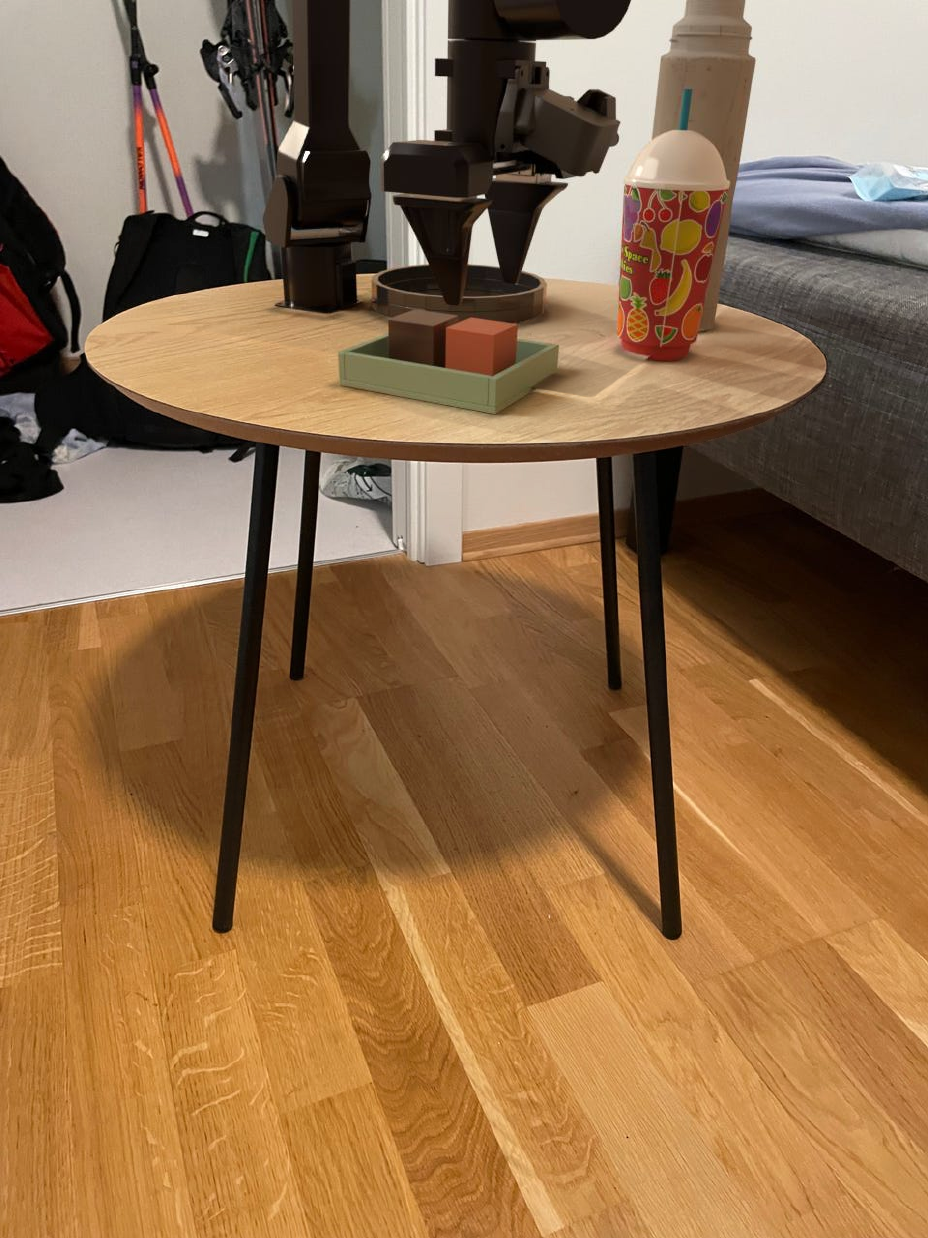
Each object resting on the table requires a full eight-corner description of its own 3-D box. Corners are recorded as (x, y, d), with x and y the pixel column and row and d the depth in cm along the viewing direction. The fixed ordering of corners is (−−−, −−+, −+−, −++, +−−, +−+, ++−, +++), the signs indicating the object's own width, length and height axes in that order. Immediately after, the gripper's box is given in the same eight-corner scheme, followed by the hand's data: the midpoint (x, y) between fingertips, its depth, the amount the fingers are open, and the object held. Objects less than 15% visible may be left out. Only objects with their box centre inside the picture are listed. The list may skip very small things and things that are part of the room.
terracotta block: (444, 381, 70) (445, 327, 68) (469, 369, 74) (470, 317, 72) (492, 389, 69) (494, 334, 67) (515, 376, 72) (518, 323, 70)
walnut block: (388, 371, 72) (387, 318, 70) (414, 359, 75) (414, 308, 73) (433, 379, 71) (433, 325, 69) (458, 367, 74) (459, 315, 72)
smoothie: (597, 340, 84) (622, 86, 74) (687, 340, 85) (723, 89, 75) (618, 365, 77) (648, 88, 67) (716, 365, 78) (760, 91, 68)
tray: (339, 385, 71) (337, 351, 69) (413, 352, 79) (413, 322, 78) (495, 414, 66) (496, 379, 64) (557, 376, 74) (559, 344, 73)
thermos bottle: (704, 314, 95) (754, -19, 80) (722, 333, 88) (780, -27, 74) (626, 312, 95) (662, -21, 80) (637, 331, 88) (679, -30, 74)
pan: (338, 315, 90) (337, 283, 89) (426, 286, 104) (426, 258, 102) (498, 340, 84) (499, 305, 82) (570, 305, 97) (572, 275, 95)
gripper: (549, 36, 50) (532, 334, 58) (657, 48, 64) (631, 285, 72) (373, 34, 54) (379, 311, 62) (510, 45, 68) (501, 269, 76)
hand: (483, 293), depth 68 cm, fingers open, 9 cm apart
